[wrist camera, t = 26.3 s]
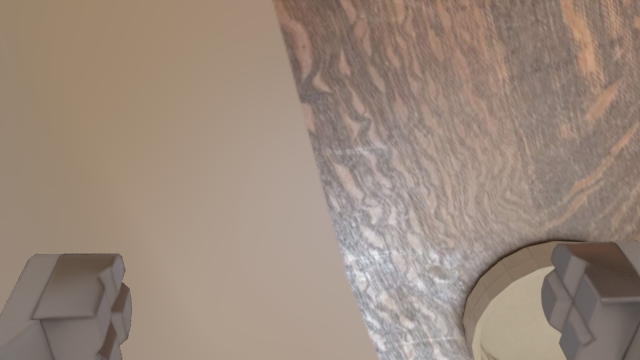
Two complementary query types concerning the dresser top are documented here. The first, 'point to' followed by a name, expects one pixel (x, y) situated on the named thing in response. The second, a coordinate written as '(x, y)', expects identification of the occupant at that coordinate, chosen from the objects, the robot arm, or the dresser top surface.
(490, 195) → the dresser top surface
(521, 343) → the bowl
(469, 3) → the dresser top surface
